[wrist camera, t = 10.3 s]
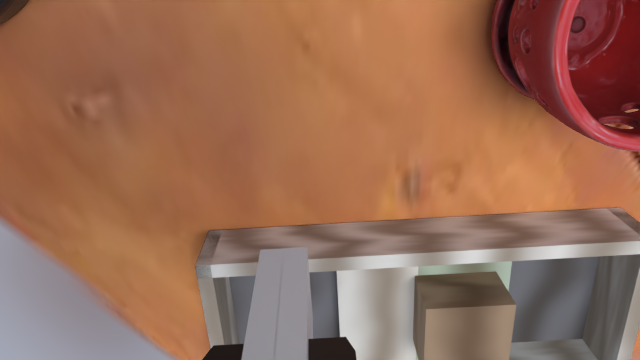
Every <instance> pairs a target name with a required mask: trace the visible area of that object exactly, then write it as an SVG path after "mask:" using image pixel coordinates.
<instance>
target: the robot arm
mask: <svg viewBox="0 0 640 360" xmlns="http://www.w3.org/2000/svg"><path fill="white" fill-rule="evenodd" d="M27 1H28V0H0V24H1V23H3V22H5V21H6V20H8V19H10V18H11V17H12V16H14V15H15V14H16V13H17V12H18V11H19V10H21V8H22V7H23V6H24V5H25V4H26V3H27ZM202 360H357V359H356V351H355V349H354V348H353V346H352V345H351V343H350V342H349V341H348V339H347V338H346V337H333V338H315V339H313V314H312V301H311V288H310V275H309V262H308V248H307V247H298V248H281V249H263V250H260V255H259V260H258V266H257V272H256V278H255V283H254V289H253V295H252V301H251V307H250V312H249V318H248V324H247V330H246V336H245V341H244V344H230V345H213V347H212V348H211V349H210V350H209V352H208V353H207V354H206V356H205V357H204V358H203V359H202Z"/></svg>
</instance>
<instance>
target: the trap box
mask: <svg viewBox="0 0 640 360" xmlns="http://www.w3.org/2000/svg"><path fill="white" fill-rule="evenodd" d="M298 247H307V248H308V262H309V275H310V288H311V301H312V314H313V339H315V338H333V337H346V338H347V339H348V341H349V342H350V343H351V345H352V346H353V348H354V349H355V351H356V359H357V360H418V356H417V352H416V349H415V345H414V341H413V319H414V286H415V276H418V275H437V274H456V273H475V272H494V271H496V272H497V274H498V275H499V277H500V279H501V280H502V282H503V284H504V285H505V287H506V288H507V290H508V292H509V293H510V295H511V297H512V298H513V300H514V302H515V303H516V311H515V319H514V326H513V333H512V341H511V348H510V356H509V360H631V356H632V353H633V349H634V345H635V341H636V337H637V334H638V330H639V326H640V222H638V221H637V220H636V219H634V218H633V217H632V216H631V215H629V214H628V213H627V212H625V211H624V210H623V209H621V208H620V207H618V208H601V209H583V210H565V211H548V212H530V213H512V214H495V215H477V216H459V217H441V218H424V219H406V220H388V221H371V222H353V223H335V224H318V225H300V226H282V227H265V228H247V229H229V230H212V231H209V232H208V235H207V237H206V240H205V242H204V244H203V247H202V249H201V252H200V254H199V257H198V259H197V262H196V264H195V269H196V274H197V279H198V285H199V290H200V295H201V300H202V306H203V311H204V316H205V321H206V326H207V332H208V337H209V342H210V347H211V348H212V347H213V345H230V344H244V341H245V336H246V330H247V324H248V318H249V312H250V307H251V301H252V295H253V289H254V283H255V278H256V272H257V266H258V260H259V255H260V250H263V249H281V248H298Z"/></svg>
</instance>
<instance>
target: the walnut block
mask: <svg viewBox="0 0 640 360" xmlns="http://www.w3.org/2000/svg"><path fill="white" fill-rule="evenodd" d="M515 311H516V303H515V302H514V300H513V298H512V297H511V295H510V293H509V292H508V290H507V288H506V287H505V285H504V284H503V282H502V280H501V279H500V277H499V275H498V274H497V272H496V271H494V272H475V273H456V274H437V275H418V276H415V286H414V319H413V341H414V345H415V349H416V352H417V356H418V360H509V356H510V348H511V341H512V333H513V326H514V319H515Z"/></svg>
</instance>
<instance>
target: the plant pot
mask: <svg viewBox="0 0 640 360" xmlns="http://www.w3.org/2000/svg"><path fill="white" fill-rule="evenodd" d="M491 42H492V49H493V54H494V58H495V61H496V63H497V65H498V67H499V69H500V71H501V73H502V74H503V76H504V77H505V79H506V80H507V81H508V82H509V83H510V84H511V85H512V86H513V87H514V88H515V89H517V90H518V91H519V92H521V93H522V94H524V95H526V96H528V97H530V98H532V99H535V100H536V101H537V102H538V103H539V104H540V105H541V106H542V107H543V108H544V109H545V110H546V111H547V112H549V113H550V114H551V115H553V116H554V117H556V118H557V119H558V120H560V121H561V122H562V123H564V124H565V125H567V126H568V127H570V128H572V129H573V130H575V131H577V132H579V133H580V134H582V135H584V136H586V137H588V138H591V139H593V140H595V141H597V142H600V143H602V144H604V145H607V146H610V147H613V148H617V149H622V150H628V151H640V0H497V2H496V6H495V9H494V13H493V19H492V26H491ZM630 109H639V110H638V111H635V112H630V113H626V112H624V111H627V110H630ZM604 124H622V125H628V126H631V127H633V128H634V129H620V128H615V127H611V126H608V125H604Z"/></svg>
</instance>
